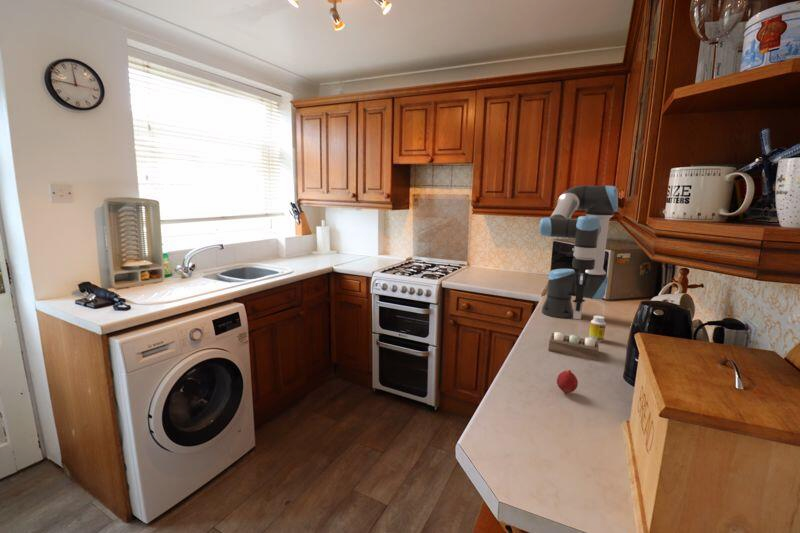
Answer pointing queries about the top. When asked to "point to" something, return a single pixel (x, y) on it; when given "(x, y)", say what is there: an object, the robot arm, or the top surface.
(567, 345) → the socket block
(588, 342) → the white egg
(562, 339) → the cream egg
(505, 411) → the top surface
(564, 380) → the onion
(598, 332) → the supplement bottle
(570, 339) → the pale green egg
